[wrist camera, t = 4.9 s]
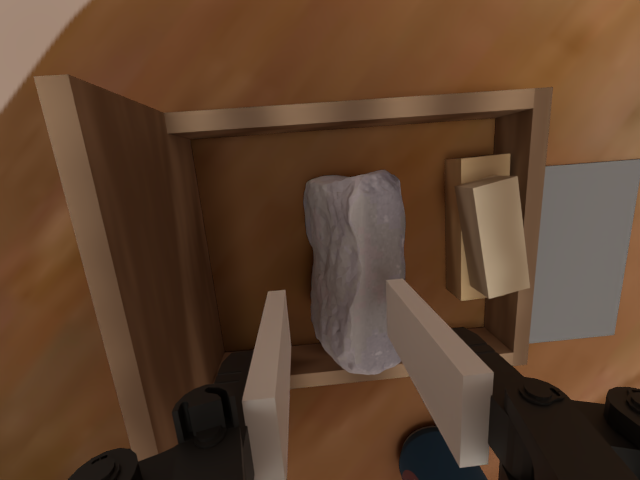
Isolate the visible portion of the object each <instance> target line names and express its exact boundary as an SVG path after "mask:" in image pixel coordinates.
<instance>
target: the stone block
mask: <svg viewBox="0 0 640 480" xmlns="http://www.w3.org/2000/svg"><path fill="white" fill-rule="evenodd" d="M303 203H304V210H305V226H306V233H307V237H308V239H309V242H310V244H311V246H312V247H313V253H314V263H313V268H312V280H311V287H312V290H311V302H312V303H311V321H312V323H313V326H314V329H315V335H316V338H317V339H319V341H320V342H321V344H322V346H323V348H324V350H325V351H326V352H327V353H328V354H329V355H330V356H331V357H332V358H333V359H334V361H335V362H336V363H337V364H338V365H340V366H341V367H342V368H343V369H345V370H346V371H347V372H349V373H354V374H365V375H371V374H373V375H375V374H379V373H381V372H383V371H384V370H386V369H389V368H392V367H395V366H396V365H397V364H399V363H400V362H401V359H400V358H399V356H398V354H397V352H396V350H395V348H394V347H393V345H392V343H391V341H390V339H389V337H388V336H387V300H386V280H393V279H404V280H405V260H404V239H405V211H404V206H403V201H402V196H401V188H400V180H399V179H398V178H397V177H396V176H395V175H392V174H390V173H389V172H387V171H386V170H379V171H375V172H370V173H368V174H363V175H358V176H354V177H346V176H339V175H328V176H321V177H318V178H315V179H311V180H309V181H308V182H307V183H306V188H305V191H304V200H303Z"/></svg>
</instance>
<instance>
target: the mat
mask: <svg viewBox="0 0 640 480" xmlns="http://www.w3.org/2000/svg"><path fill="white" fill-rule="evenodd" d="M639 180H640V159H635V160H622V161H609V162H596V163H583V164H570V165H557V166H546V167H545V177H544V188H543V199H542V209H541V220H540V231H539V241H538V252H537V263H536V273H535V284H534V295H533V305H532V316H531V327H530V337H529V343H538V342H548V341H558V340H568V339H578V338H588V337H598V336H608V335H614V333H615V326H616V320H617V314H618V308H619V302H620V296H621V290H622V284H623V278H624V272H625V266H626V259H627V253H628V247H629V241H630V235H631V229H632V223H633V217H634V211H635V205H636V199H637V192H638V186H639Z"/></svg>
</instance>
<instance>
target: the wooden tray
mask: <svg viewBox="0 0 640 480" xmlns="http://www.w3.org/2000/svg"><path fill="white" fill-rule="evenodd" d="M34 80H35V84H36V88H37V92H38V95H39V99H40V103H41V107H42V111H43V114H44V118H45V122H46V126H47V130H48V134H49V137H50V141H51V145H52V149H53V153H54V156H55V160H56V164H57V168H58V172H59V175H60V179H61V183H62V187H63V191H64V195H65V198H66V202H67V206H68V210H69V214H70V217H71V221H72V225H73V229H74V233H75V236H76V240H77V244H78V248H79V252H80V256H81V259H82V263H83V267H84V271H85V275H86V278H87V282H88V286H89V290H90V294H91V297H92V301H93V305H94V309H95V313H96V316H97V320H98V324H99V328H100V332H101V336H102V339H103V343H104V347H105V351H106V355H107V358H108V362H109V366H110V370H111V374H112V377H113V381H114V385H115V389H116V393H117V397H118V400H119V404H120V408H121V412H122V416H123V419H124V423H125V427H126V431H127V435H128V438H129V442H130V446H131V450H132V451H133V452H135V453H136V454H137V458H138V461H141V460H144V459H146V458H149V457H151V456H154V455H157V454H159V453H162V452H164V451H166V450H169V449H171V448H173V447H174V446H176V445H178V440H177V435H176V431H175V426H174V421H173V417H172V410H173V408H174V406H175V404H176V403H177V402H178V401H179V400H180V399H181V398H182V397H183V396H184V395H185V394H187V393H188V392H190V391H192V390H193V389H195V388H198V387H201V386H203V385H207V384H214V381H215V379H216V376H218V371H219V369H220V366H221V363H222V362H223V361H224V360H225V359H226V358H227V357H228V356H229V355H230V354H231V353H233V352H226V353H225V351H224V345H223V339H222V333H221V327H220V320H219V314H218V308H217V302H216V296H215V290H214V283H213V277H212V271H211V265H210V259H209V252H208V246H207V240H206V234H205V228H204V222H203V215H202V209H201V203H200V197H199V191H198V185H197V178H196V172H195V166H194V160H193V154H192V148H191V141H190V139H201V138H216V137H230V136H244V135H259V134H273V133H287V132H302V131H316V130H330V129H345V128H359V127H373V126H387V125H402V124H416V123H430V122H445V121H459V120H473V119H488V118H496V124H495V142H494V155H495V154H510V176H518V184H519V192H520V201H521V210H522V219H523V228H524V237H525V246H526V255H527V264H528V273H529V282H530V288H527V289H524V290H520V291H516V292H513V293H509V294H505V296H498V297H494V298H490V299H489V298H486V303H485V321H484V327H481V328H471V329H468V330H470V331H472V332H474V333H476V334H478V335H479V336H480V337H481V338H482V339H483V340H484V341H485V342H486V343H487V345H490V346H491V347H492V348H493V349H494V350H495V352H497V353H498V354H499V355H501V356H502V357H503V358H504V359H505V360H506V361H507V362H508V363H509V364H510V365H512V366H518V365H527V359H528V348H529V337H530V327H531V316H532V305H533V295H534V284H535V273H536V263H537V252H538V241H539V231H540V220H541V209H542V199H543V188H544V177H545V167H546V156H547V146H548V135H549V124H550V114H551V103H552V92H553V87H548V88H533V89H517V90H502V91H487V92H472V93H457V94H442V95H427V96H412V97H397V98H382V99H366V100H351V101H336V102H321V103H306V104H291V105H276V106H261V107H246V108H230V109H215V110H200V111H185V112H170V113H163V112H160V111H158V110H155V109H153V108H150V107H148V106H145V105H143V104H140V103H138V102H135V101H133V100H130V99H128V98H125V97H123V96H121V95H118V94H116V93H113V92H111V91H108V90H106V89H103V88H101V87H98V86H96V85H93V84H91V83H88V82H86V81H83V80H81V79H78V78H76V77H73V76H71V75H68V74H67V75H50V76H34ZM246 351H252V350H246ZM236 352H242V351H236ZM402 377H410V376H409V374H408V372H407V370H406V369H405V367H404V365H403V363H402V361H401V362H400V363H399V364H397V365H396V366H395V367H392V368H389V369H386V370H384V371H383V372H381V373H379V374H375V375H373V374H371V375H365V374H354V373H349V372H347V371H346V370H345V369H343V368H342V367H341V366H340V365H338V364H337V363H336V362H335V361H334V359H333V358H332V357H331V356H330V355H329V354H328V353H327V352H326V351H325V350H324V348H323V346H322V344H321V343H318V344H307V345H297V346H291V368H290V389H295V388H305V387H315V386H324V385H334V384H344V383H353V382H363V381H373V380H382V379H392V378H402Z"/></svg>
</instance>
